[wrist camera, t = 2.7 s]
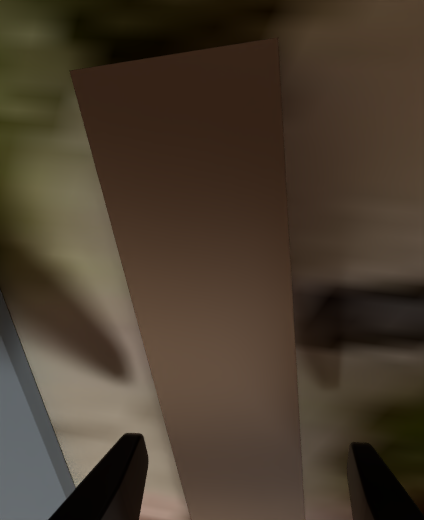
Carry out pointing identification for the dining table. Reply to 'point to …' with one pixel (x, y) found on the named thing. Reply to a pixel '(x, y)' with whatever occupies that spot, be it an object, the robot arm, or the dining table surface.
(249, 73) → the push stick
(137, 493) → the robot arm
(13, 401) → the grey flat bar
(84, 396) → the dining table surface
